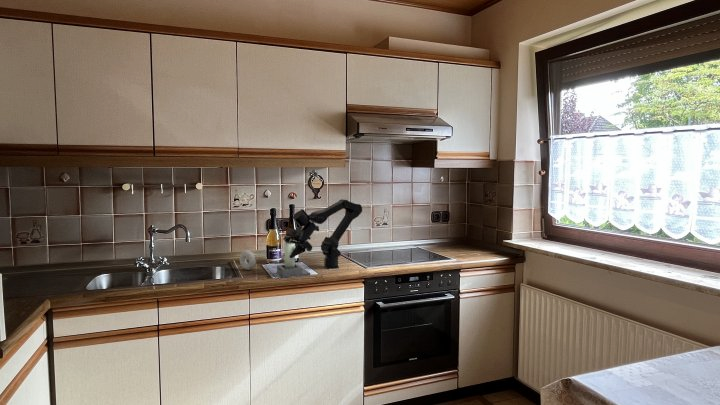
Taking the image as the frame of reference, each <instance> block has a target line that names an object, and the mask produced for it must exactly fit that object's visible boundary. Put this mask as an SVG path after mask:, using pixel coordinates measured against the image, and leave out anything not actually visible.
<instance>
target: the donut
mask: <svg viewBox="0 0 720 405" xmlns="http://www.w3.org/2000/svg"><path fill="white" fill-rule="evenodd" d="M247 259H248V261H247ZM256 263H257V261H256V257H255V254H254V252H252V251H251V250H244V251H242V252H241V253H240V256H239V264H240V266H241V267H242V268H243V269H244V270H246V271H250V270H252V269H253V268H254V267H255V266H256Z"/></svg>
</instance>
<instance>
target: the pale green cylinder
mask: <svg viewBox="0 0 720 405" xmlns="http://www.w3.org/2000/svg"><path fill="white" fill-rule="evenodd" d="M295 246H296V245H295V243H286V242H285V243H284V247H283V248H284V254H283V257H284V265H285V269H286V268H295V264H296V263H295V262H296V261H295V260H296V259H295V258H296V256H295V257H293V258H290V255H291V253H292V252H293V250H294V249H295Z"/></svg>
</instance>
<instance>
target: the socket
mask: <svg viewBox="0 0 720 405" xmlns="http://www.w3.org/2000/svg"><path fill="white" fill-rule="evenodd" d="M275 273H276V274H277V273H278V274H277V275H279V276H280V278H282V279H283V277H285V278H293V277H292V276H296V277H304V276H305V277H306V276H311V272H309V271H308V270H306V269H305V268H304V267H302V266H301V265H300V264H298V263H295V268H286V269H285V264H277V265H276V272H275Z"/></svg>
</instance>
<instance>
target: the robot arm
mask: <svg viewBox="0 0 720 405" xmlns="http://www.w3.org/2000/svg"><path fill="white" fill-rule="evenodd" d="M343 209H344V210H345V212H344V214H345V215H344V216H343V217H342V219H341V220H340V221H339V223H338V225H337V226H336V228H335V230H334V231H333V232H332V233H331V236H329V237H328V236H325V237H324V239H323V240H322V242H321V245H320V250H321V252H322V254H323V256H324V260H323V267H324V268H327V269H339V268H340V266H339V257H340V256H341V255H342V254H341V253H342V252H341V251H340V250H339V249H338V248H339V242H340V241H341V239H342V237H343V235H344V234H345V233H346V231H347V229H348V228H349V226H350V225H351V223H352V222H353V220H355V219H356V218H358V217H359V216H360V215H361V214H362V212H363V207H362V205H361V204H359V203H354V202H352V201H349V200H347V199H343V198H342V199H340V200H338V201H337V202H335V203H333V204H331V205H329V206H328V207H326V208H324V209H320V210H316V211H312V212H310V214H308V213H307V212H306V211H305V209H301V208H300V210H298V211H297V212H295V213H294V214H293V216H292V219H293V220H294V222H296V224H297V225H298V226H299V227H301V229H300V228H298V227H296V228H290V227H288V229H287V232H286V235H285V236H284V237H283V238H282V240H283V242H285V243H295V249H294V250H293V252H292V253H291V255H290V258H293V257H295V258H296V256H298V255H301V254H303V253H305V252H311V251H312V250H313V245H312V244H311V243H310V242H309V241H308V240H311V238H312V237H311V236H312V234H314V232H320V227H319V225H322V224H324V223H325V222H326V221H327V220H328V218H329V217H330V216H332V215H334V214H336V213H338V212H339V211H342V210H343ZM316 224H317V225H316Z"/></svg>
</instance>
